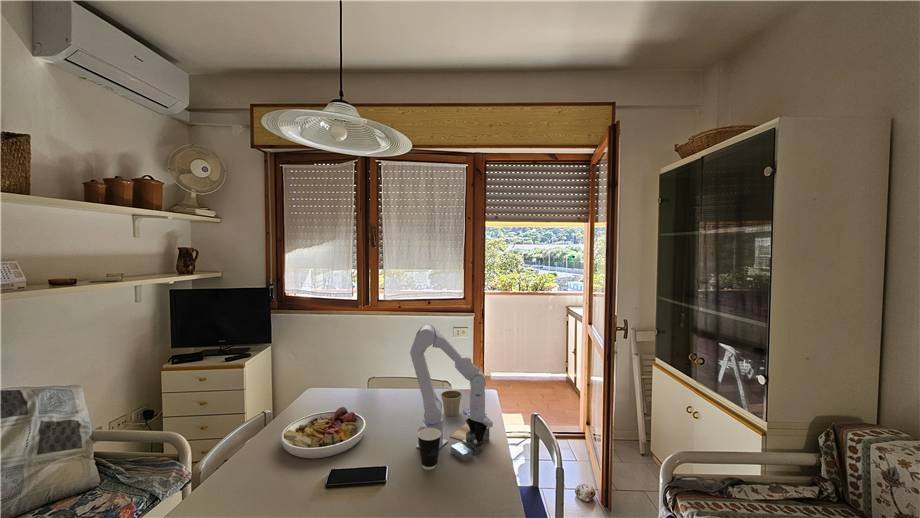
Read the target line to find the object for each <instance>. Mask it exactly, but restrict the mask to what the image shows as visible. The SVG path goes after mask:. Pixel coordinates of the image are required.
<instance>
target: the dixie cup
mask: <svg viewBox="0 0 920 518" xmlns="http://www.w3.org/2000/svg"><path fill="white" fill-rule="evenodd" d="M440 436H441V432H440V430H438V429H435V428H425V429H422V430H420V431H419V432H418V431H417V438H418V437H419V446H420V448H419V452H420V453H419V454H420V463H421V465H422V467H421V468H423V469H424V470H428V471H429V470H433V469H436V467H437V464H438V460H439V453H440V448H439V443H440Z"/></svg>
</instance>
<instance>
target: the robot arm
mask: <svg viewBox="0 0 920 518" xmlns="http://www.w3.org/2000/svg"><path fill="white" fill-rule="evenodd" d="M431 346H432V348H437V349H440V350H441V351H443V352H444V353H445V354H446V356H448V357H449V359H451V360H452V361H453V362H454V368H455V369H456V370H457V371H458V373H460V375H462V376H463V378H464V379H465V380H466V381H469V386H470V390H469V408H463V409H462V412H463V413H462V415H464V416H467V417H468V418H467V419H466V421H465V422H466V423H467V424H468V426H469V428H470V431H471V430H474V429H476V434H477V442H481V441H483V437H484V433H485V431H486V428H489V429H491V428H493V427H494V426H493V425H494V423H493V420H491V419H490V418H489V417H488V416H487V412H486V386H487V385H486V384H487V380H486V378H485V374H484V373H483V371H482V369H480V367H477V366H476V365H475V364H474V363H473V362H472V358H471V357H468V356H466V355H461V354H460V353H459V352H458V351H457V350H456V349H455V348H454V346H453V345H452V343H450V342H449V341H448V339H447V338H446V337H445V336H444V335H443V334H442V333H441V332H440V331H439V330H438V329H436V328H435V327H434V326H433V325H432V324H429V323H428V324H427V323H426V324H424V325H422V326H421V327H420V328H419V329H418V330H417V332H416V335H415V337H414V340H413V342H412V346H411V347H410V350H409V354H410V357H411V361H412V365H413V368H414V372H415V375H416V379H417V382H418V386H419V388H420V389H419V390H420V392H421V397H422V401H423V403H422V404H423V409H424V414H423V423H422V424H421V426H420V427H419V429H418V430H417V433H418V432H419V431H420V430H422V429H425V428H435V429H438V430H440V432H441V436H440V443H439V449H440V448H442V447H443V446H445V445H446V444H447V443H448V442H449V441H448V440H447V439H444V418H443V416H442V407H443V405H442V404H443V403H442V402H441V400H440V399H439V397H438V395H437V393H436V392H435V388H434V384H433V381H432V378H431V374H430V371H429V367H428V363H427V361H426V356H425V352H426V351H427V349H428V348H429V347H431ZM415 447H416V448H418V449H420V446H419V437H418V436H417V444H416V446H415Z"/></svg>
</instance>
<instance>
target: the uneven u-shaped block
mask: <svg viewBox="0 0 920 518" xmlns="http://www.w3.org/2000/svg"><path fill="white" fill-rule="evenodd" d="M474 439H477V434H476V429H474V430H471V431H469V432H466V439H465V440H463V441H462V444H463V445H465V446H466V447H468V448H469V449H471V450H472V455H474V456H476V455H478V454H481V453H483V444H484V443H487V442H488V441H490V428H486V431H485V433H484V437H483V441H481V442H477V444H476V445H475V444H474Z"/></svg>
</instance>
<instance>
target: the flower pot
mask: <svg viewBox="0 0 920 518" xmlns="http://www.w3.org/2000/svg"><path fill="white" fill-rule="evenodd" d="M440 397H441V400H442V404H443V405H442V407H443V410H444V411H443V412H444V415H445V416H447V417H455V416H456V417H457V416H458V415H459V413H460V406H461V404H460V403H461V400H462V397H463V393H462V392H461V391H459V390H454V389H453V390H449V389H448V390H445V391H442V392H441V393H440Z"/></svg>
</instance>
